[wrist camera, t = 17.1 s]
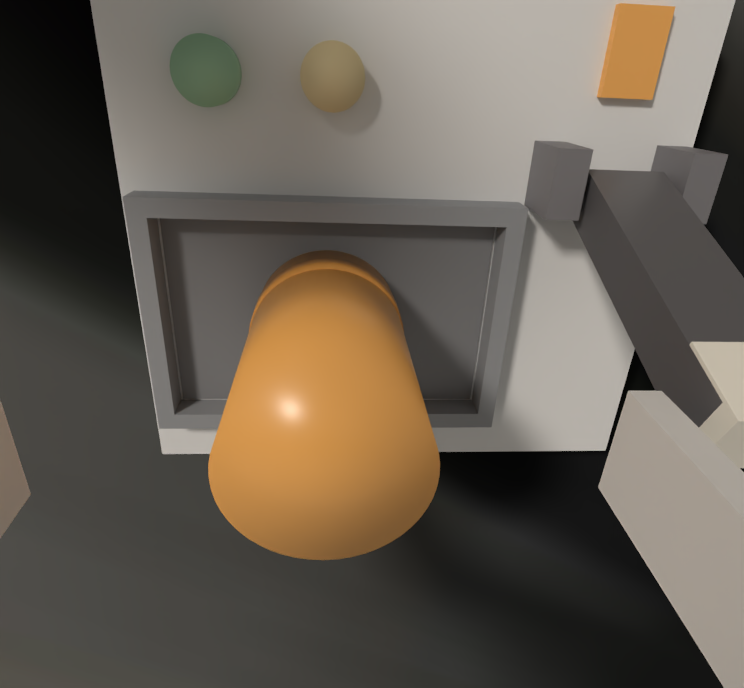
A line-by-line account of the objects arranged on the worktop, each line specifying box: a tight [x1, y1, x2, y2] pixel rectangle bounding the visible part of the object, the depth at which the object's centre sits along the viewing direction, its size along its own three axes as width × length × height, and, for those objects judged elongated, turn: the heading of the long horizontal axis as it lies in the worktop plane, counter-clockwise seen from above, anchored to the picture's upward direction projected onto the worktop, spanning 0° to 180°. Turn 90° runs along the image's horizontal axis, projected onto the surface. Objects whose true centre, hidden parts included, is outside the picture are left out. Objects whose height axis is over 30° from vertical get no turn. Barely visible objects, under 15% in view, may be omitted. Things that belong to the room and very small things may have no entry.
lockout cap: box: [208, 250, 440, 560], centre depth 15 cm, size 5×5×8 cm
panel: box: [90, 0, 735, 454], centre depth 18 cm, size 16×18×4 cm
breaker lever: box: [572, 169, 744, 468], centre depth 14 cm, size 2×2×10 cm
